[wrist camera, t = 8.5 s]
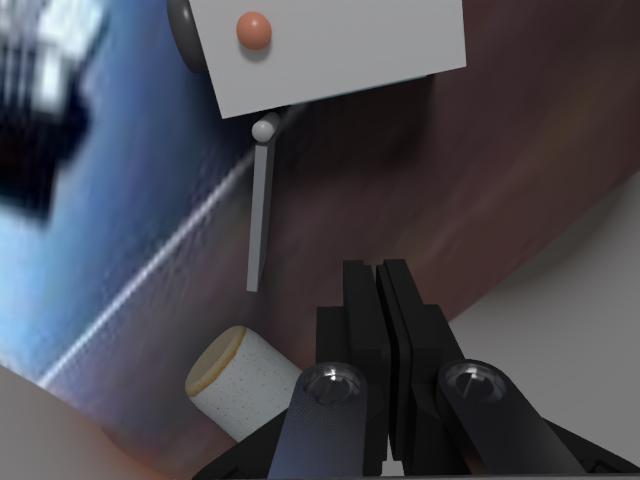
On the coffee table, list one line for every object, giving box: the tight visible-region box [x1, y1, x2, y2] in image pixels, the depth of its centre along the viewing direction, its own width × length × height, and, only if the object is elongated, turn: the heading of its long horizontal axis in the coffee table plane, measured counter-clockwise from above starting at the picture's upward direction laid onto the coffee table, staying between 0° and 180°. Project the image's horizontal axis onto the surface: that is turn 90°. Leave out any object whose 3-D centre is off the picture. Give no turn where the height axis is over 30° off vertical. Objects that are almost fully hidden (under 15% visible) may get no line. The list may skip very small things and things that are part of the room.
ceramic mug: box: [185, 326, 303, 443], centre depth 35 cm, size 11×8×8 cm
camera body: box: [166, 0, 466, 119], centre depth 25 cm, size 16×8×7 cm, turn 102°
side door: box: [247, 112, 281, 292], centre depth 30 cm, size 12×1×6 cm, turn 173°
